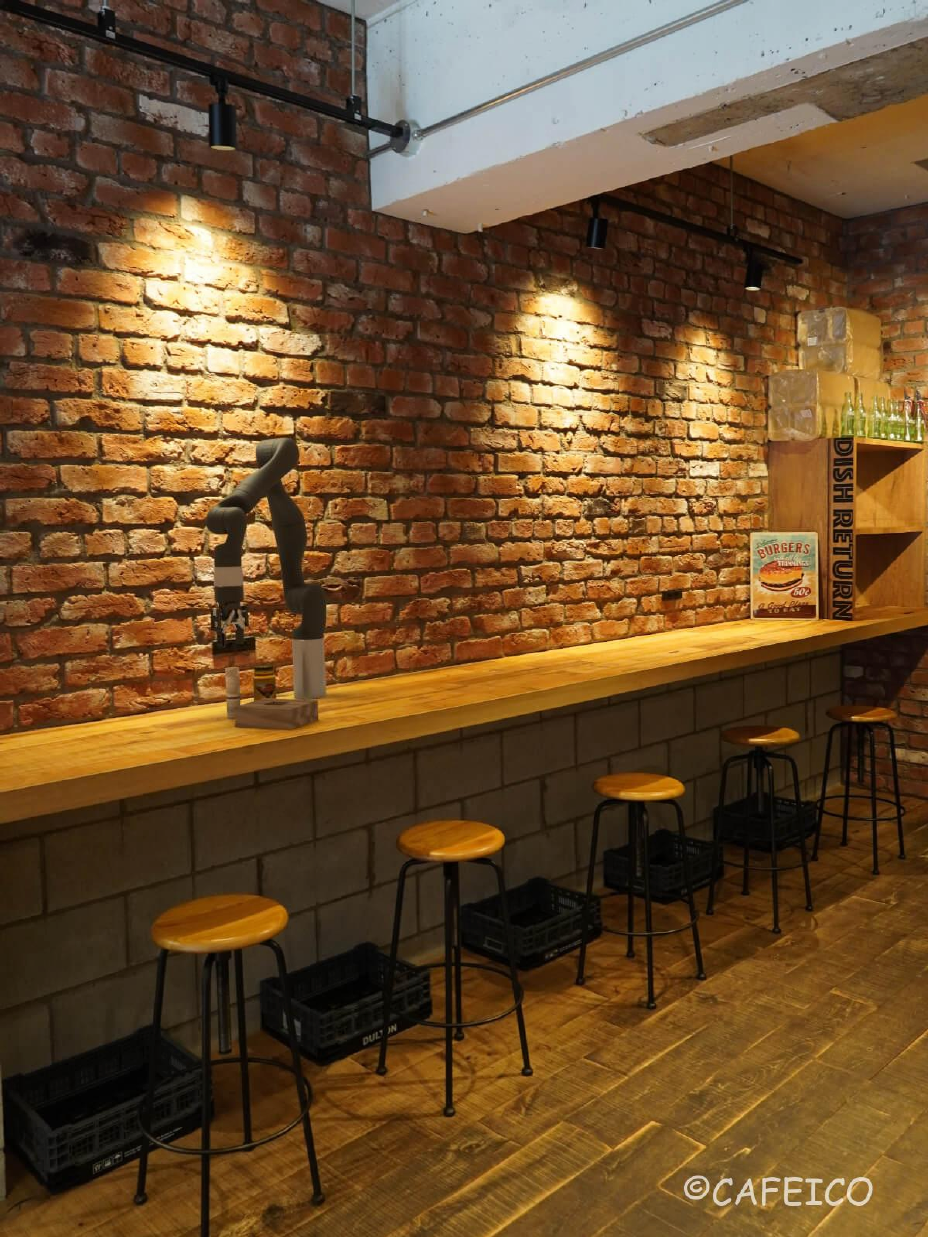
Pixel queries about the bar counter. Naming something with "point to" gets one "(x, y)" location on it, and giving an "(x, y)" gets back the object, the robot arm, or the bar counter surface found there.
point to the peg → (232, 690)
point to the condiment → (264, 682)
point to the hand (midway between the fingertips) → (230, 645)
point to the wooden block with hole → (276, 713)
